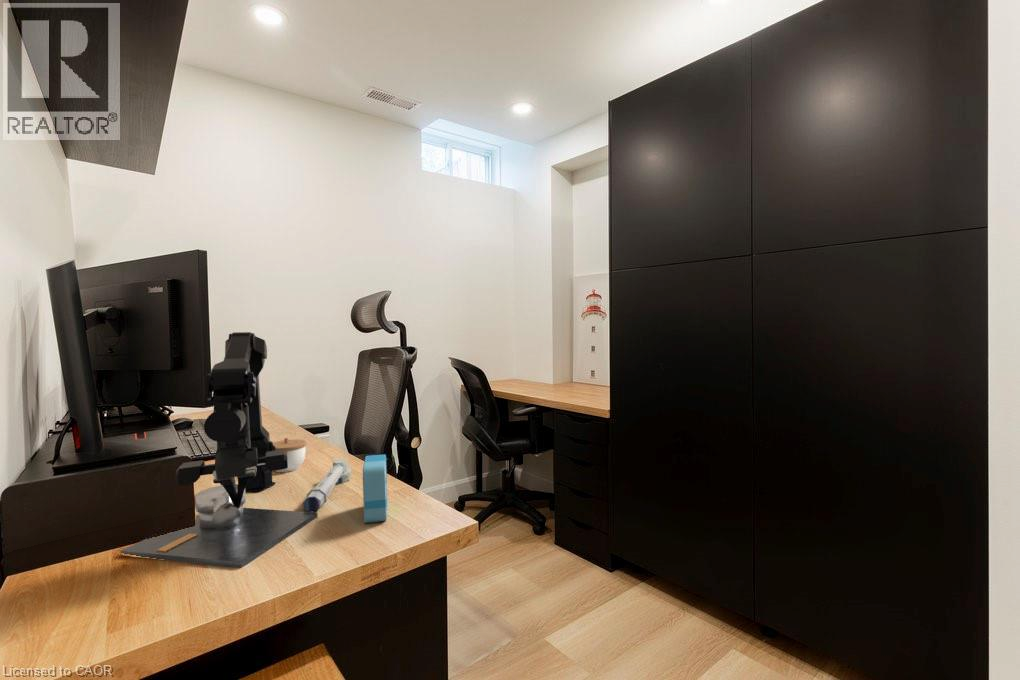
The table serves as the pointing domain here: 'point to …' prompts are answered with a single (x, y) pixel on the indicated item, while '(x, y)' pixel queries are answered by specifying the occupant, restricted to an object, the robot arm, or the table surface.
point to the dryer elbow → (219, 507)
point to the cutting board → (224, 538)
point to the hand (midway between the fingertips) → (237, 508)
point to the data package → (375, 488)
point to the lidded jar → (292, 452)
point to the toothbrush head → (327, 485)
